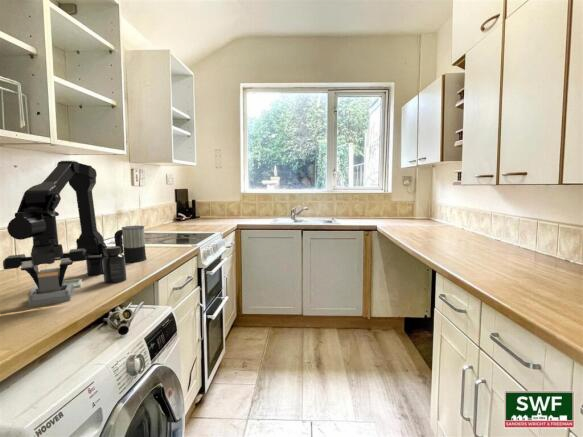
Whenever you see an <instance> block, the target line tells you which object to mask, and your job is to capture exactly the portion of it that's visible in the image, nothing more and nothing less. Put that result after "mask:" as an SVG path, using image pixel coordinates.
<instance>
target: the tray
mask: <svg viewBox="0 0 583 437" xmlns="http://www.w3.org/2000/svg"><path fill="white" fill-rule="evenodd" d="M63 282H64V284H71V285H73V284H74V289H76V288H81V286H82V283H83V278H82V277H81V278H73V279H72V278H71V279H65V280H63ZM35 288H38V287H37V285H36V283H35V284H34V286H33V287H32V288H31V290H30V291H29V294H30V293H31V291H32V290H33V289H35Z"/></svg>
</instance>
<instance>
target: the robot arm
mask: <svg viewBox="0 0 583 437" xmlns="http://www.w3.org/2000/svg"><path fill="white" fill-rule="evenodd" d="M96 183H97V171H96V168H94V167H92V165H89V164H84V163H80V162H78V161H76V160H60V161H58V162H57V164H56V167H55V168H54V169H53V170H52V171H51V172H50V174H49V175H47V177H46V178H45V179H44V180H43V181H42V182H41V183H38V184H34V185H32V186H31V187H29V188H28V189H26V190H25V192H23V196H22V198H21V200H20V203H19V206H18V208H17V211H16V212H14V218H12V219H11V220H10V221H9V222H8V224H7V227H6V228H7V229H6V230H7V232H8V235H9V236H10V237H12V238H13V239H15V240H19V241H21V240H27V239H29V238H32V248H31V252H30V256H26V254H25V253H24V254H23V253H22V254H13V255H11V254H10V255H8V256H7V257H5V258H4V260H2V261H3V262H2V266H3V270H12V269H18V268H20V267H21V268H20V271H26V273H27V274H29V276H30V277H31V278H32V280H33V282H34V283H35V284H36V285H37V287H38V289H39V281H38V273H39V271H40V269H39V267H38V266H40V265H46V264H47V265H52V264H54V263H55V262H56V261H60V263H59V268H60V275H59V284H60V287H61V286H62V283H63V281H64V279H65V275H66V272H67V269H68V266H73V263H77V262H83V261H85V262H86V271H87V272H86V275H85V277H87V278H88V277H94V276H102V275H103V276H104V274H103V264H102V259H103V257H104V256H106V254H105V248H107V247H108V246H107V244H106V243H105V240H104V236H103V235H102V234H101V233H100V232H99V231H98V227H97V218H96V213H95V204H94V197H93V190H94V188H95V185H97V184H96ZM67 184H68V185H69V186H70V187H71V189H73V191H74V192H75V195H76V196H75V197H76V203H77V209H78V217H79V224H80V225H79V226H80V231H81V233H80V235H79V237H78V238H76V240H75V242H76V248H75V249H70V250H69V251H68V252H64V249H63V245H62V244H61V243H59V238H58V235H59V234H58V227H57V226H58V225H57V217H58V216H59V215H60V213H59V212H57V211H56V208H57V207H58V205H59V203H60V201H61V200H62V198H61V195H60V194H61V192H62V191H63V189H64V188H65V187H66V185H67Z"/></svg>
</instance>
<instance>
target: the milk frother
mask: <svg viewBox="0 0 583 437" xmlns="http://www.w3.org/2000/svg"><path fill="white" fill-rule="evenodd" d="M113 237H114V244H115V246H119V247H121V252H120V254H122V255H124V257H125V263H139V262H142V261H145V260H147V253H146V242H145V226H144V225H126V226H122V227H121V229H119V230H117V231H116V232H115V233H114V236H113Z"/></svg>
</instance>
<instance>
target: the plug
mask: <svg viewBox="0 0 583 437" xmlns="http://www.w3.org/2000/svg"><path fill="white" fill-rule="evenodd" d="M59 275H60V267H56V268H45V269H41V270H40V269H39V273H38V281H39V290H40V294H41V293H48V292H55V291H60V290H61V287H60V284H59Z"/></svg>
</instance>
